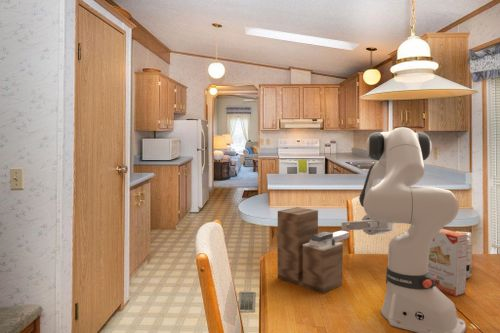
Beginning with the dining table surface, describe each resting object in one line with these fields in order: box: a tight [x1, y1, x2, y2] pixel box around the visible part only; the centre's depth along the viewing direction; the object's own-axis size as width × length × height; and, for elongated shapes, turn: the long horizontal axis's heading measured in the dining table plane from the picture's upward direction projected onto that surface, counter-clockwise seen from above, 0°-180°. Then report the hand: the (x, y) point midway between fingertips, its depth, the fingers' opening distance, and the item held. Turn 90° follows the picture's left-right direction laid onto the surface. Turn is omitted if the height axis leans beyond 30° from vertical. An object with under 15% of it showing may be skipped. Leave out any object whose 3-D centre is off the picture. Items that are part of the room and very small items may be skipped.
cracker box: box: [428, 228, 468, 297], centre depth 133 cm, size 14×6×21 cm, turn 27°
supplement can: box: [466, 237, 473, 280], centre depth 145 cm, size 8×8×15 cm
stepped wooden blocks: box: [277, 206, 344, 294], centre depth 140 cm, size 21×12×26 cm, turn 44°
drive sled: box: [310, 230, 350, 248], centre depth 138 cm, size 4×20×4 cm, turn 135°
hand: (357, 225), depth 151 cm, fingers open, 8 cm apart
